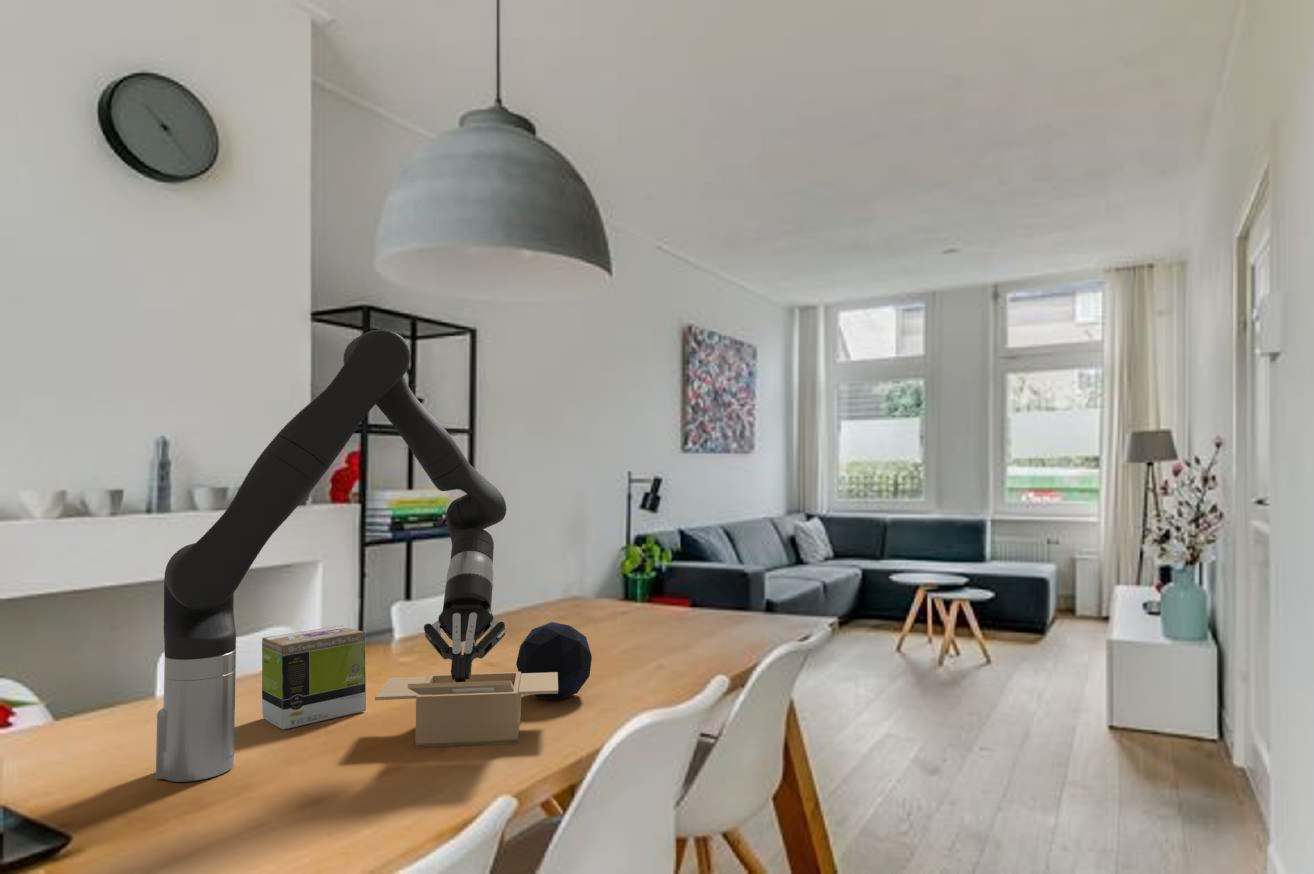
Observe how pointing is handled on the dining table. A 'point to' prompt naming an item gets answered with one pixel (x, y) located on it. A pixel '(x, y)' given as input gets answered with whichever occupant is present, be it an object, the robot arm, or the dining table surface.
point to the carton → (469, 708)
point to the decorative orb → (556, 657)
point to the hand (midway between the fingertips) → (460, 680)
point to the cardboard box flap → (462, 687)
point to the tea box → (313, 676)
